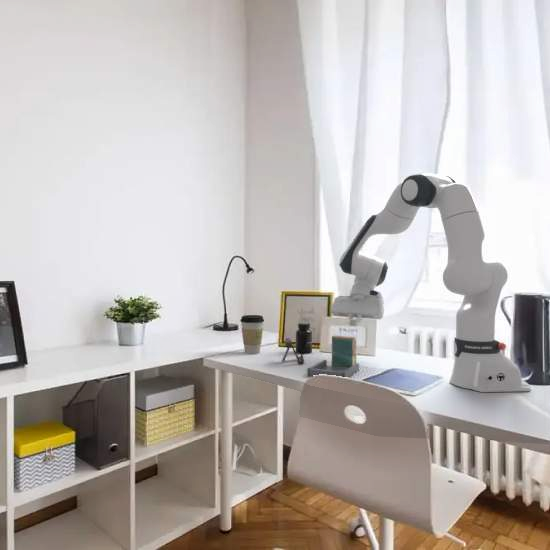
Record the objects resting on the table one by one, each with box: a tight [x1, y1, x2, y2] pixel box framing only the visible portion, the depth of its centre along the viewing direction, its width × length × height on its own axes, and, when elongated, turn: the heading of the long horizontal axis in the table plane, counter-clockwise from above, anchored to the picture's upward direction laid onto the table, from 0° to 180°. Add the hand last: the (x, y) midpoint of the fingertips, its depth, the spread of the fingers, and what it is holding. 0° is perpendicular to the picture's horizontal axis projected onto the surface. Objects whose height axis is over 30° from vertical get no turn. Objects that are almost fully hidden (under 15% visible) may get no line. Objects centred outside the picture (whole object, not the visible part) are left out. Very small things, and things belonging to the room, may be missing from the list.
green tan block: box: [331, 334, 357, 368], centre depth 174 cm, size 4×8×11 cm, turn 62°
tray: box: [307, 359, 360, 378], centre depth 166 cm, size 13×15×2 cm
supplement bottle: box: [295, 322, 313, 355], centre depth 200 cm, size 7×7×12 cm
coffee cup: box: [239, 314, 265, 355], centre depth 200 cm, size 10×10×15 cm
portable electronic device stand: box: [281, 337, 305, 365], centre depth 183 cm, size 9×8×8 cm
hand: (352, 325), depth 183 cm, fingers closed
